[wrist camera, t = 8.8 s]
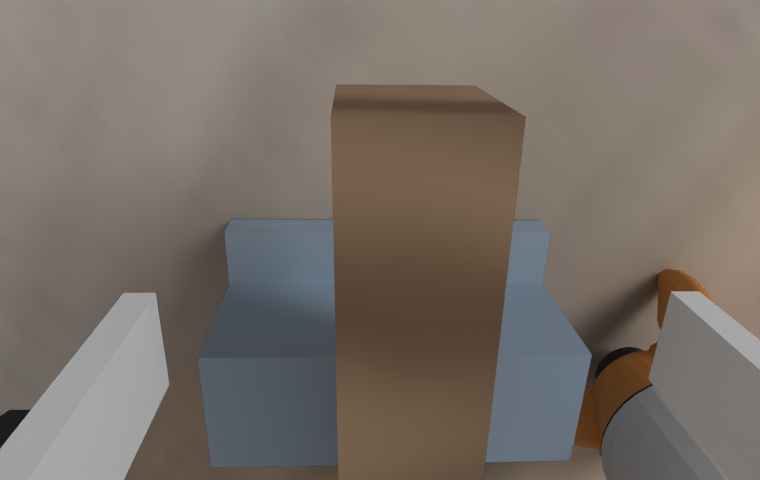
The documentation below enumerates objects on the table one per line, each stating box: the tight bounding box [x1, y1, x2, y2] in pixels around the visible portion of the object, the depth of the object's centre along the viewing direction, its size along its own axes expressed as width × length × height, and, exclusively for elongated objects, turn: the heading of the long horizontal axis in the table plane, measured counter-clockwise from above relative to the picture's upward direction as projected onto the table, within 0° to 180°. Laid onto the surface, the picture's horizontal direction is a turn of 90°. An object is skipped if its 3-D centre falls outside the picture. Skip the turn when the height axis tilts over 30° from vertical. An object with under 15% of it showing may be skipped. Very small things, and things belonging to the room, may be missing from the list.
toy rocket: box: [574, 269, 729, 480], centre depth 23 cm, size 10×11×15 cm
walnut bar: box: [331, 84, 526, 480], centre depth 18 cm, size 24×4×5 cm, turn 179°
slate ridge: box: [197, 219, 592, 468], centre depth 24 cm, size 10×14×7 cm
